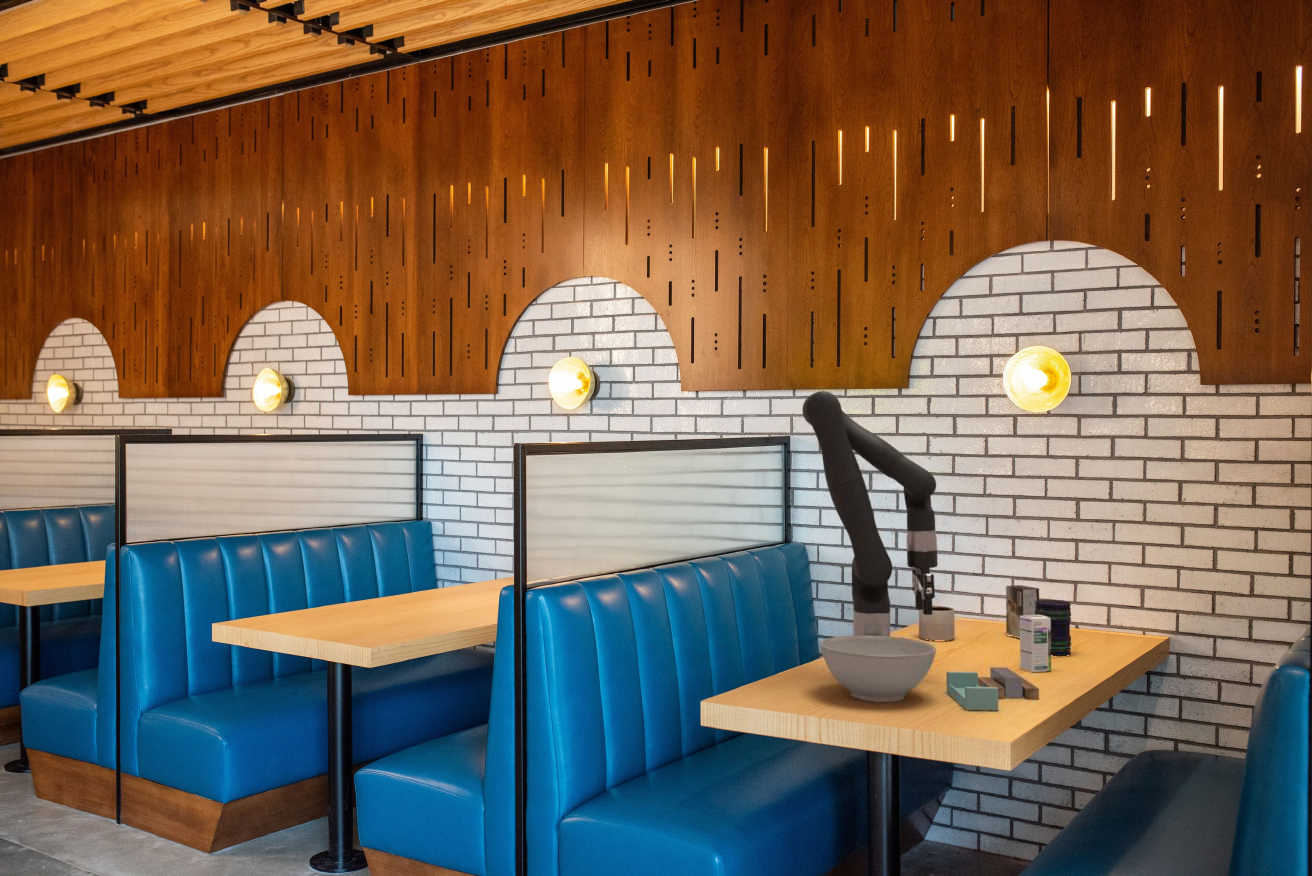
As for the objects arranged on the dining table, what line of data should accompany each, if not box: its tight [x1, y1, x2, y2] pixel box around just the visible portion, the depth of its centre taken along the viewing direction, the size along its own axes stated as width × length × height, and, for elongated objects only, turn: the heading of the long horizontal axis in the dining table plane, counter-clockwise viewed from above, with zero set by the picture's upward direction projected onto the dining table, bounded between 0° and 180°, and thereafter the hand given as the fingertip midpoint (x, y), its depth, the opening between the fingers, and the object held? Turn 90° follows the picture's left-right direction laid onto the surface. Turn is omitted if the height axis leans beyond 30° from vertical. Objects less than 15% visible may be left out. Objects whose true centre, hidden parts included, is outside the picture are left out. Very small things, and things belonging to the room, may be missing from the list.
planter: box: [918, 605, 956, 641], centre depth 323 cm, size 11×11×10 cm
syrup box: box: [1019, 615, 1052, 673], centre depth 275 cm, size 6×6×14 cm
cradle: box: [946, 671, 999, 712], centre depth 239 cm, size 7×18×5 cm, turn 178°
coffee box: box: [1005, 584, 1040, 637], centre depth 326 cm, size 9×6×16 cm
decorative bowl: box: [819, 635, 937, 703], centre depth 244 cm, size 27×27×12 cm
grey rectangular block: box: [989, 666, 1024, 699], centre depth 249 cm, size 4×12×5 cm, turn 178°
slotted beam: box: [978, 676, 1040, 700], centre depth 248 cm, size 11×12×2 cm
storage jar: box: [1035, 599, 1072, 656], centre depth 299 cm, size 10×10×15 cm
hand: (924, 612), depth 263 cm, fingers open, 8 cm apart
